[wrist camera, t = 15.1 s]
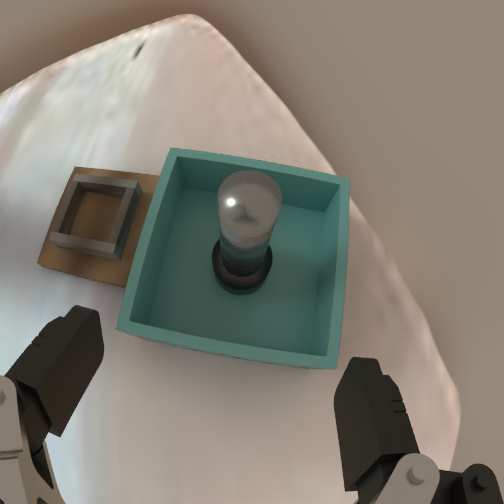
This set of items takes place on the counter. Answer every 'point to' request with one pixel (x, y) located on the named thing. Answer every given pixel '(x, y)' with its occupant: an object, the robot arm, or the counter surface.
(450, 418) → the counter surface
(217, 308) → the bin
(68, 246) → the square framed wooden base
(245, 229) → the tube
